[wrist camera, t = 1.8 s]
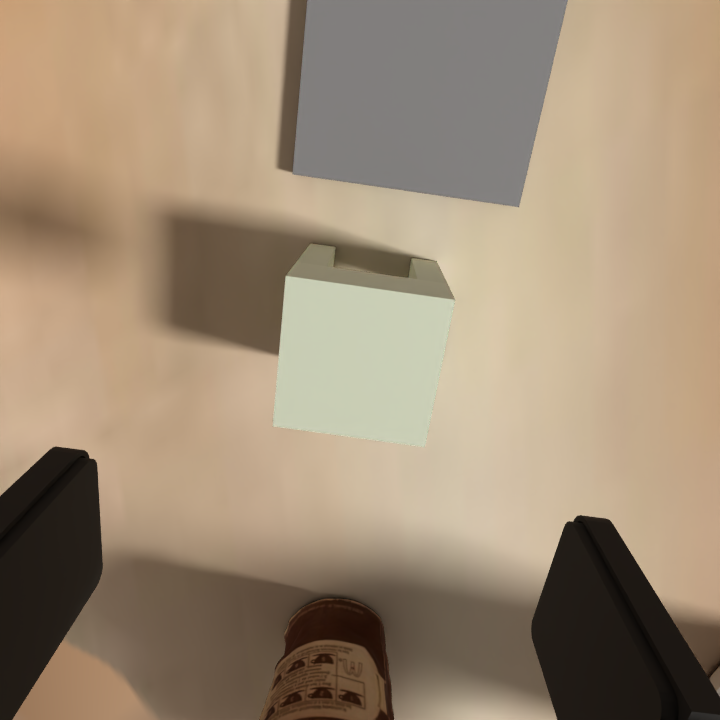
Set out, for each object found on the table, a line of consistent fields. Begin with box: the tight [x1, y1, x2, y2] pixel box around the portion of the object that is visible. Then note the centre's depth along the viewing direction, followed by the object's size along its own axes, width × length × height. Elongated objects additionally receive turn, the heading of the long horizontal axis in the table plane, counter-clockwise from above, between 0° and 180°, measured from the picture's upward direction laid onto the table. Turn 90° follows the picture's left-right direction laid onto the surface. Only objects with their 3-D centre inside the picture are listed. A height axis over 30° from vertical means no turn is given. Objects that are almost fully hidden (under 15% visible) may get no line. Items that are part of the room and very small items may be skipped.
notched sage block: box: [273, 243, 455, 447], centre depth 23 cm, size 6×6×7 cm
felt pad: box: [293, 0, 568, 207], centre depth 22 cm, size 10×10×1 cm
